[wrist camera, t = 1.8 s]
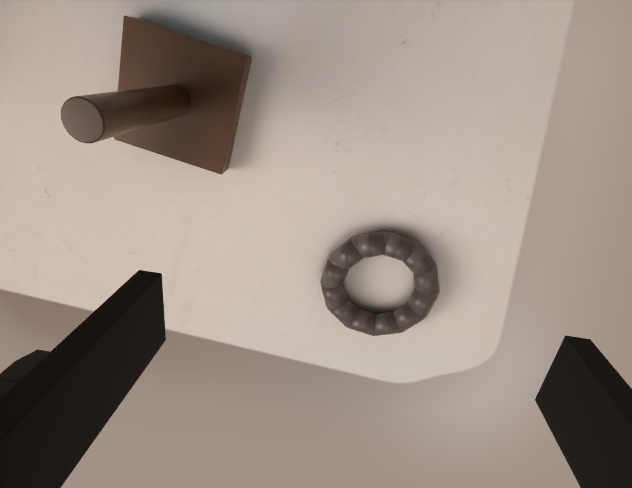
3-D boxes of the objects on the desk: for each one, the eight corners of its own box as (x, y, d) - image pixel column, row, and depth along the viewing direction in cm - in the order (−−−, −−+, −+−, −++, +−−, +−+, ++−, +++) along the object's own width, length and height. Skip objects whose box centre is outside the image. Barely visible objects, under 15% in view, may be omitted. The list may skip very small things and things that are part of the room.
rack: (124, 135, 29) (-3, 175, 19) (135, 17, 26) (-13, -13, 15) (227, 169, 30) (158, 227, 19) (252, 57, 26) (183, 54, 16)
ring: (309, 307, 34) (307, 319, 33) (344, 213, 30) (343, 221, 29) (409, 338, 35) (411, 352, 33) (455, 250, 31) (461, 260, 29)
